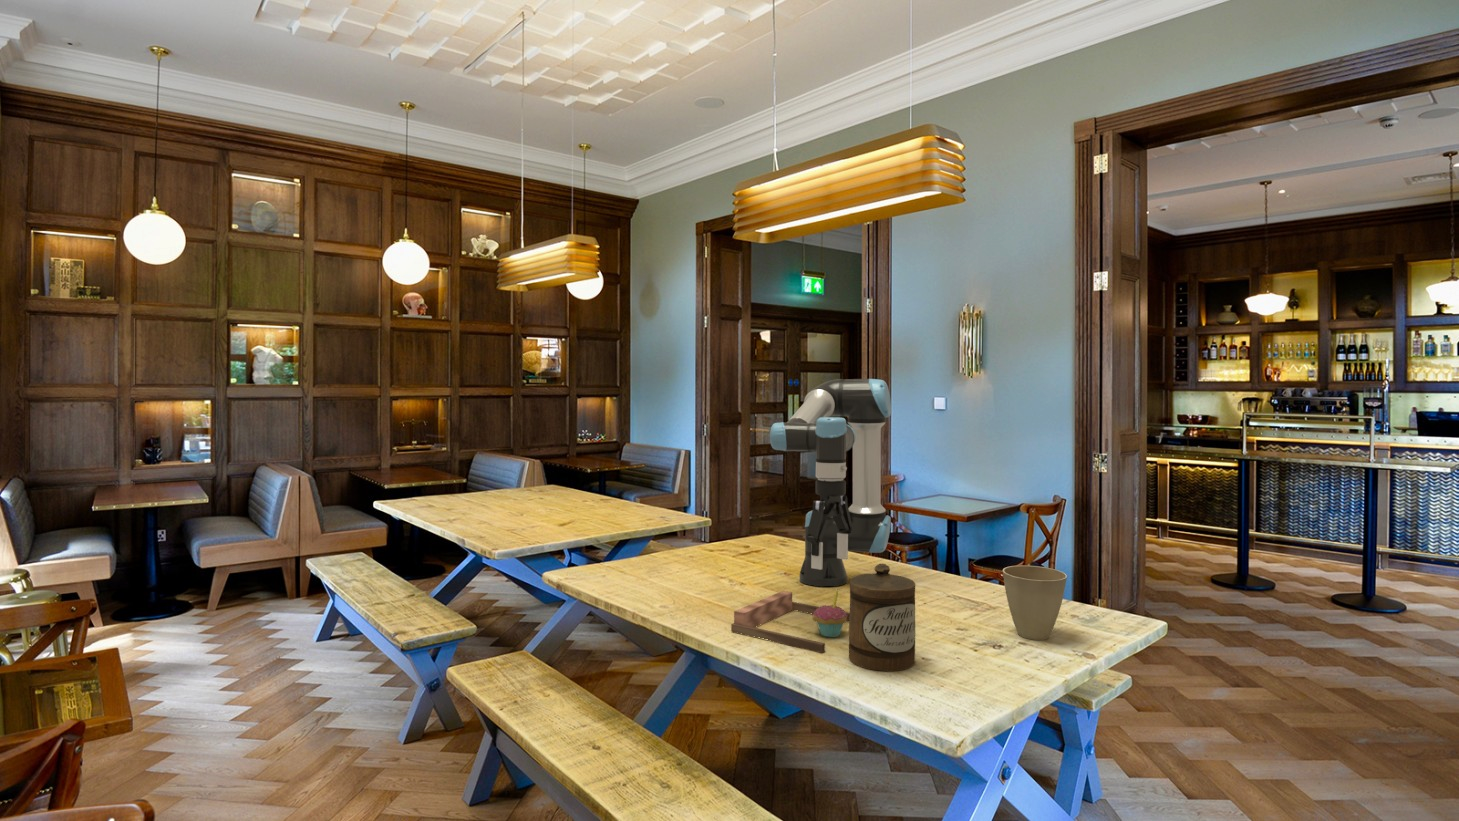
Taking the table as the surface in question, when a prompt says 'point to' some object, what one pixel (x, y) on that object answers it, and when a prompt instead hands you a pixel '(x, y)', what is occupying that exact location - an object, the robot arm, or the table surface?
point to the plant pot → (1034, 599)
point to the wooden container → (882, 621)
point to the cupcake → (830, 618)
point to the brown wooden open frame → (769, 610)
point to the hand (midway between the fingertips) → (829, 563)
